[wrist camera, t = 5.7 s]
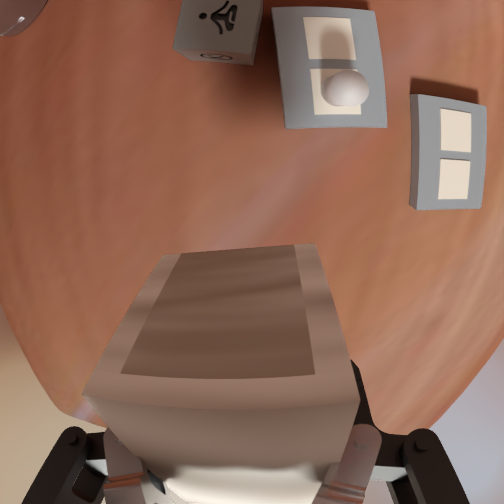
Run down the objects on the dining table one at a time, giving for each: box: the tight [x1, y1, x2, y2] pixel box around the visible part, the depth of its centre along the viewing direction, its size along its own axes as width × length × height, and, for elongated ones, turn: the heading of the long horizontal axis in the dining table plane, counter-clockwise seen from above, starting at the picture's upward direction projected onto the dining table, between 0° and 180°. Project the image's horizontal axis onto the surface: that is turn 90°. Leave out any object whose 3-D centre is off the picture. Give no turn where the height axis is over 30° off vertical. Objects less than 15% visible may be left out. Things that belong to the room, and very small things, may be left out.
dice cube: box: [173, 0, 263, 66], centre depth 16 cm, size 5×5×5 cm
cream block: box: [82, 243, 360, 504], centre depth 10 cm, size 9×6×7 cm, turn 7°
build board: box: [409, 94, 487, 210], centre depth 21 cm, size 10×8×2 cm
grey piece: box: [271, 7, 387, 129], centre depth 17 cm, size 10×8×6 cm
